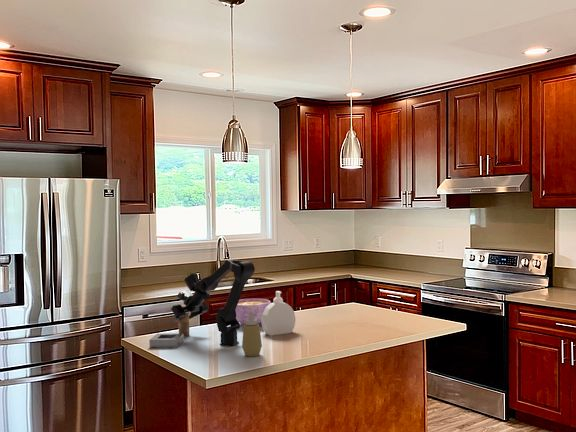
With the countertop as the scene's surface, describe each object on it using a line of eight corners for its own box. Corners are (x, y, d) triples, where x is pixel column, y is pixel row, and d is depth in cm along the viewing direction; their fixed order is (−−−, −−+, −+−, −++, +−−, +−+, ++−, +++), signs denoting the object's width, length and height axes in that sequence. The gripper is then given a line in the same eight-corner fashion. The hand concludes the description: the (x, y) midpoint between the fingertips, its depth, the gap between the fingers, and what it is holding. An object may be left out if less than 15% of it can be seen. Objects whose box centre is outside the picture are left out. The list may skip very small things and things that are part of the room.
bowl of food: (263, 319, 312) (263, 297, 312) (276, 326, 293) (276, 303, 293) (227, 322, 305) (226, 300, 304) (238, 330, 286) (237, 306, 286)
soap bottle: (266, 336, 271) (265, 293, 271) (261, 334, 276) (260, 292, 275) (296, 332, 279) (295, 290, 278) (290, 330, 284) (290, 289, 283)
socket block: (183, 341, 266) (183, 333, 266) (176, 347, 254) (176, 339, 254) (157, 341, 267) (157, 333, 267) (149, 347, 255) (149, 339, 255)
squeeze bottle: (262, 352, 243) (261, 309, 243) (261, 357, 235) (261, 312, 235) (242, 352, 243) (241, 309, 243) (241, 358, 235) (240, 313, 235)
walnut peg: (191, 334, 279) (190, 305, 278) (185, 337, 274) (184, 307, 274) (182, 333, 281) (181, 304, 280) (176, 336, 276) (175, 306, 276)
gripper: (203, 283, 281) (188, 303, 289) (173, 288, 267) (158, 309, 274) (215, 301, 277) (199, 321, 284) (185, 307, 262) (169, 328, 269)
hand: (182, 319), depth 278 cm, fingers open, 9 cm apart
